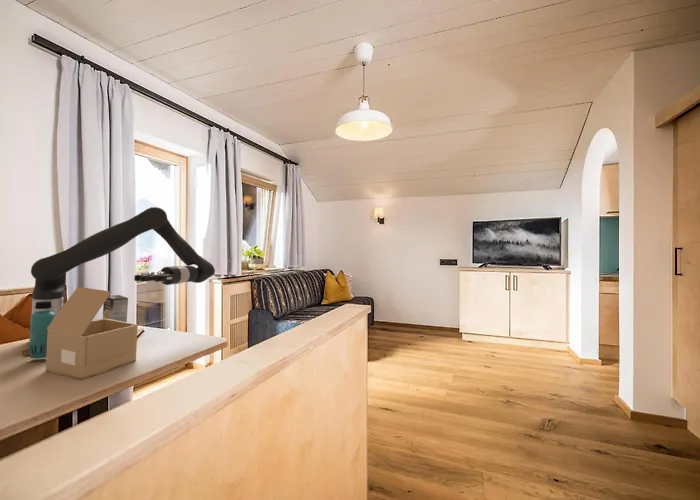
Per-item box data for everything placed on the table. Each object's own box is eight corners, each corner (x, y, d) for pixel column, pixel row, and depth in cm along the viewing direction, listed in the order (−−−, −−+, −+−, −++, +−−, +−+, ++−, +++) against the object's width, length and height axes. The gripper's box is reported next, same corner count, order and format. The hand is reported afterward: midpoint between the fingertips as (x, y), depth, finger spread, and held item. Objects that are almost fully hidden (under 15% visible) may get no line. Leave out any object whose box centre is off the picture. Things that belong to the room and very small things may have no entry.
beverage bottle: (53, 355, 120) (55, 299, 119) (54, 360, 115) (57, 302, 115) (27, 359, 115) (30, 300, 115) (28, 364, 111) (30, 304, 110)
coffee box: (101, 332, 149) (102, 296, 149) (117, 329, 155) (119, 294, 154) (110, 336, 145) (112, 299, 144) (127, 333, 150) (128, 297, 150)
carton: (44, 370, 107) (46, 329, 107) (103, 353, 125) (104, 318, 124) (81, 380, 102) (83, 337, 102) (137, 361, 119) (139, 324, 119)
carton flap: (47, 329, 106) (46, 328, 106) (78, 287, 114) (77, 286, 114) (81, 336, 102) (79, 335, 101) (111, 292, 110) (110, 291, 109)
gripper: (162, 264, 145) (124, 267, 129) (188, 267, 141) (152, 270, 124) (161, 282, 145) (123, 286, 129) (187, 285, 141) (151, 290, 125)
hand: (138, 278), depth 127 cm, fingers closed
